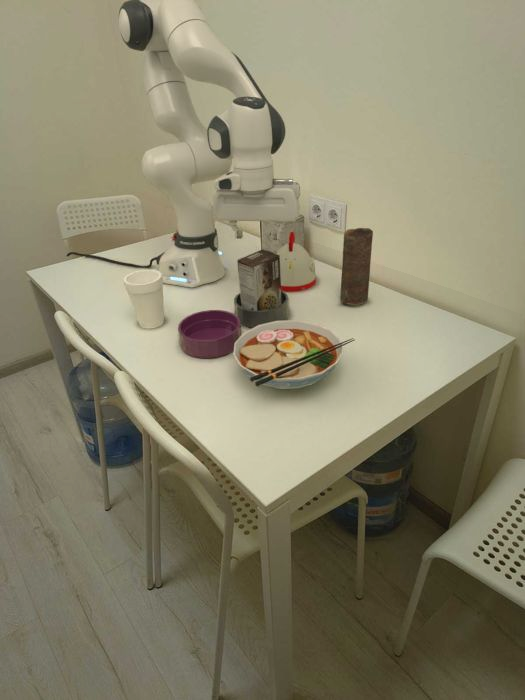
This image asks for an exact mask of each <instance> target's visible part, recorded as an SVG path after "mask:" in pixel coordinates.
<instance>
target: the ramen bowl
mask: <svg viewBox="0 0 525 700" xmlns="http://www.w3.org/2000/svg"><path fill="white" fill-rule="evenodd" d="M355 340H356V339H355V338H353V337H352V338H350V339H346V340H344V341H342V339H341V338H340V337H339V336H338V335H337V334H336V333H335V332H334V331H333V330H332V329H330V328H327V327H325V326H322V325H320V324H318V323H315V322H311V321H304V320H299V319H290V320H287V319H286V320H285V321H274V322H270V323H265V324H261V325H258V326H256V327H254V328H249V329H248V330H246V331H245V332H243V333H242V335H241V336H240V338H239V339H238V340H237V341H236V342H235V344H234V351H232V352H233V353H232V354H233V355H232V356H234V358H235V360H236V361H237V363H238V365H239V367H241V369H242V371H243V372H244V373H245V374H246V375H247V376H249V377H250V378H249V380H250V382H252V383H253V382H254V383H255V386H256V387H260V386H262V385H263V386H266V387H270V388H274V389H279V390H288V389H290V390H291V389H292V390H293V389H301V388H304V387H309V386H312V385H314V384H316V383H318V382H319V381H320V380H322V379H323V378H324V377H326V376H327V375H329V374H330V372H332V371H333V370H334V369H335V367H336V365H337V364H338V362H339V360H340V359H341V357H342V355H343V354H344V348H343V347H344V346H345V345H348V344H350V343H352V342H355Z"/></svg>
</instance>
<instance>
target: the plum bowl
mask: <svg viewBox="0 0 525 700" xmlns="http://www.w3.org/2000/svg"><path fill="white" fill-rule="evenodd" d="M177 333H178V339H179V345H180V348H181V350H182V351H183V352H184V353H186V354H187V355H189V356H192V357H195V358H198V359H215V358H220V357H223V356H226V355H228V354H231V353H232V352H234V344H235V342H236V341H237V340H238V339H239V338H240V336H241V335H242V334H243V333H242V324H241V322H240V319H239V318H238V316H236V315H235V313H234V312H231V311H227V310H221V309H207V310H201V311H197V312H194V313H192V314H190V315H187V316H186V317H184V318H183V319H181V321H180V322H179V323H178V326H177Z"/></svg>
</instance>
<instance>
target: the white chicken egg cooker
mask: <svg viewBox="0 0 525 700" xmlns="http://www.w3.org/2000/svg"><path fill="white" fill-rule="evenodd" d="M295 241H296V236H295V233H294V231H290V233H289V236H288V243H286V244H284V245H282V246H281V247H280V248H279V250H278V251H277V252H276V254H277V255H280V276H281V290H282V291H284V292H285V293H286V292H291V293H293V292H302V291H307V290H309V289H311V288H313V287H314V286H315V284H316V282H317V273H316V266H315V261H314V260H315V259H314V257H313V256H311V255H310V254H309V252H308V251H307V250H306V249H305V248H304V247H303V246H302V245H301V244H298V243H296V242H295Z"/></svg>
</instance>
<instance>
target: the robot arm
mask: <svg viewBox="0 0 525 700" xmlns="http://www.w3.org/2000/svg"><path fill="white" fill-rule="evenodd" d="M118 27H119V32H120V35H121V38H122V40H123V42H124V44H125V45H126V46H127V48H128V49H131V50H134V51H138V52H143V54H142V56H141V61H140V63H141V71H142V72H141V73H142V79H143V84H144V88H145V93H146V95H147V99H148V103H149V107H150V109H151V112H152V116H153V120H154V122H155V124H156V125H157V127H158V128H159V129H160V130H161V131H163V132H165V133H168V134H170V135H172V136H174V137H175V138H176V139H178V140H179V142H174V143H167V144H161V145H158V146H155V147H153V148H150V149H147V150H145V152H144V154H143V156H142V159H141V171H142V174H143V177H144V179H145V180H146V182H147V183H148V184H149V185H150V186H152V187H153V188H154V189H156V190H158V191H159V192H161V193H162V194H163V195H164V196H165V197H166V198H167V200H168V201H169V202H170V204H171V207H172V209H173V212H174V217H175V221H176V226H177V229H176V230H175V232H174V233H173V234H172V236H171V237H170V240H171V242H173V241H174V243H173V244H172V245H171V246H170V247H169V248H168V249H167V250H166V251H164V252H162V253H160V254H158V255H157V256H156V257H155V256H154V257H152V258H151V259H150V260H149V264H148V265H138V264H135V263H130V262H123V261H119V260H115V259H110V258H107V257H103V256H98V255H94V254H88V253H81V252H80V253H79V252H75V251H70V252H67V254H66V257H70V256H71V255H74V256H78V257H86V258H93V259H98V260H102V261H106V262H109V263H114V264H118V265H121V266H127V267H134V268H138V269H139V268H141V269H143V268H144V269H149V268H151V267H152V265H153V262H154V261H156V265H157V266H158V268H157V269H155V270H156V271H159V272H160V273H161V274H162V277H163V284H169V285H174V286H179V287H185V288H197V287H200V286H202V285H206V284H211V283H214V282H216V281H219V280H221V279H222V278H223V277H224V276H225V275H226V271H225V269H224V266H223V263H222V260H221V256H220V255H223V253H222V251H220V250H219V236H218V230H217V228H216V223H215V220H216V221H222V222H223V221H225V222H226V221H228V225H229V227H230V228H231V230H232V231H233V232H234V239H236V240H237V239H239V240H242V238H243V237H244V235H243V229H239V227H238V225H237V223H238V222H270V223H271V222H273V223H275V222H277V223H276V224H277V227H278V229H277V230H274V231H273V232H272V236H273V238H272V239H273V240H274V241H280V240H281V239H282V232H281V231H282V230H283V228H284V226H285V224H286V223H295V222H296V221H297V220H298V219H299V218H300V215H301V208H300V207H301V206H300V200H299V198H300V197H301V185H300V183H299V182H297V181H296V180H294V178H286V179H285V178H275V175H274V174H275V173H274V160H273V157H272V155H275V154H276V153H277V152H278V151H279V149H280V148H281V146H282V145H283V143H284V140H285V138H286V133H287V132H286V131H287V130H286V126H285V121H284V119H283V117H282V115H281V114H280V113H279V112H278V110H277V109H276V108H275V107H274V106H273V105H272V104H271V103H270V102H269V100H268V99H267V98H266V96H265V95H264V93H263V92H262V90H261V88H260V87H259V85H258V84H257V82H256V81H255V78H253V76H252V74H251V72H250V71H249V70H248V69H247V67H246V66H245V64H244V62H243V61H242V60H241V58H239V56H238V55H237V54H236V53H234V52H233V51H230V49H228V48H227V47H226V46H225V45H224V44H223V42H221V41H220V40H219V38H218V37H217V36H216V35H215V33H214V32H213V30H212V28H211V26H210V24H209V22H208V20H207V18H206V16H205V15H204V13H203V11H202V9H201V7H200V6H199V5H198V3H197V2H196V1H195V0H127V1H124V2H123V3H122V4H121V6H120V8H119V11H118ZM185 77H186V78H188V79H190V80H193V81H196V82H201V83H206V84H212V85H215V86H219V87H222V88H225V89H227V90H228V91H230V92H231V93H232V94H233V95H234V96H235V97H236V98H234V99H233V100H231V102H230V105H229V108H228V109H227V110H225V111H223V112H221V113H219V114H218V115H215V116H213V117H212V118H211V120H210V122H209V124H208V126H207V127H206V126H205V125H204V124H203V123H202V121H201V120H200V118H199V117H198V115H197V112H196V110H195V107H194V105H193V101H192V99H191V95H190V91H189V88H188V85H187V81H186V79H185ZM232 165H233V170H232V171H231V169H232ZM210 181H214V183H213V185H214V189H215V190H216V191H214V193H213V196H212V202H211V201H210V200H209V199H208V198H207V197H204V196H203V195H200V194H196V193H194V192H193V189H192V188H193V187H192V185H194V184H197V183H198V184H199V183H204V182H210Z"/></svg>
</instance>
